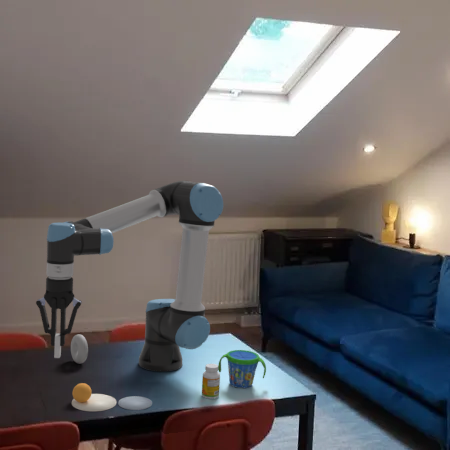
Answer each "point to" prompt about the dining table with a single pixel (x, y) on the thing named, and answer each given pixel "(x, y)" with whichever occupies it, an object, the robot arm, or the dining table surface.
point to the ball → (82, 392)
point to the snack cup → (242, 367)
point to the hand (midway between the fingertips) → (57, 356)
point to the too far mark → (135, 403)
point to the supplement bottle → (211, 382)
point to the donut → (79, 348)
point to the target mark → (95, 403)
